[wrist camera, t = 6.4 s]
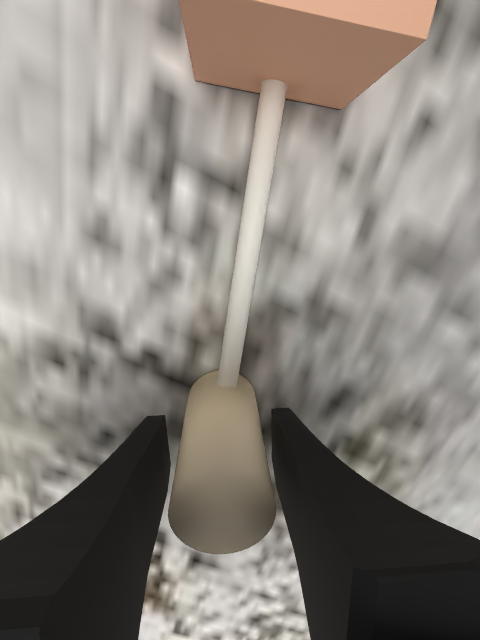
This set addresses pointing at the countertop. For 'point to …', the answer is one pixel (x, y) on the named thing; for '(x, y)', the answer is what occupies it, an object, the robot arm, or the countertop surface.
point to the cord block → (274, 86)
